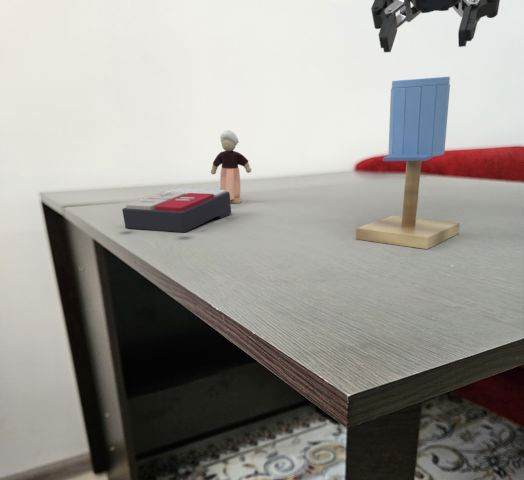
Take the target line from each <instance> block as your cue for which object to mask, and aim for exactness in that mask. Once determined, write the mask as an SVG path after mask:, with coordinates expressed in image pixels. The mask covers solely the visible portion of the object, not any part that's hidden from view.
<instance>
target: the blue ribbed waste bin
mask: <svg viewBox="0 0 524 480" xmlns="http://www.w3.org/2000/svg"><path fill="white" fill-rule="evenodd" d="M450 81H451V77H450V76H437V77H426V78H415V79H414V78H412V79H411V78H410V79H401V80H399V79H397V80H392V81H391V88H390V99H389V100H390V102H389V105H390V106H389V133H388V153H387V155H385V156H383V157H382V161H383V162H407V161H421V162H423V161H424V162H425V161H426V162H427V161H429V160H430V159H432V158H433V157H438V156H442V155H444V154H445V151H446V139H447V128H448V127H447V125H448V115H449V104H450V103H449V102H450V92H451V91H450V89H451V84H450Z"/></svg>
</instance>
